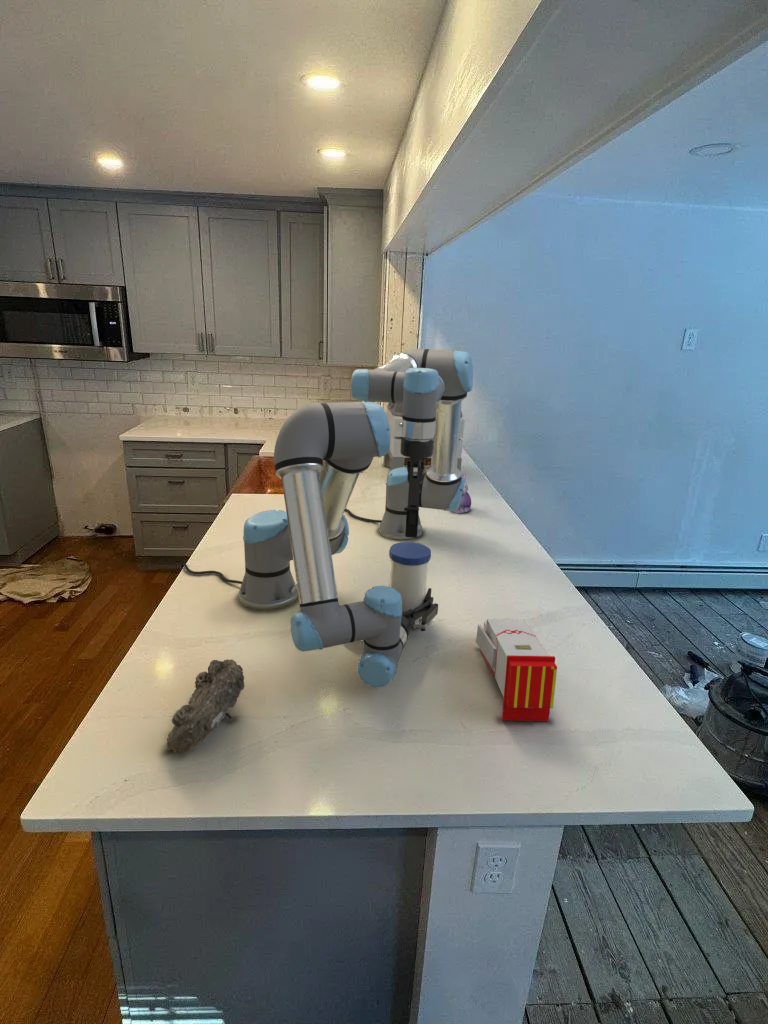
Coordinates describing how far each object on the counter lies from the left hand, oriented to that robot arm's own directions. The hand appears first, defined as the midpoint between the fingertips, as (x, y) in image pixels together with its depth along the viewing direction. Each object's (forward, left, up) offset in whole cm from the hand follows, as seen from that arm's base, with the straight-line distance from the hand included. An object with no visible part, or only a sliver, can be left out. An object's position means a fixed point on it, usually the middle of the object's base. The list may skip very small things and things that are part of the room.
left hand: (410, 590), depth 147 cm
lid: (0, -4, +13) cm, 14 cm away
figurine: (+4, +85, -6) cm, 86 cm away
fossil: (-28, -51, -6) cm, 59 cm away
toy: (+26, -22, -6) cm, 35 cm away
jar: (0, -4, -6) cm, 8 cm away
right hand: (0, -4, +19) cm, 20 cm away
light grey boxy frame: (-21, +132, -6) cm, 134 cm away
